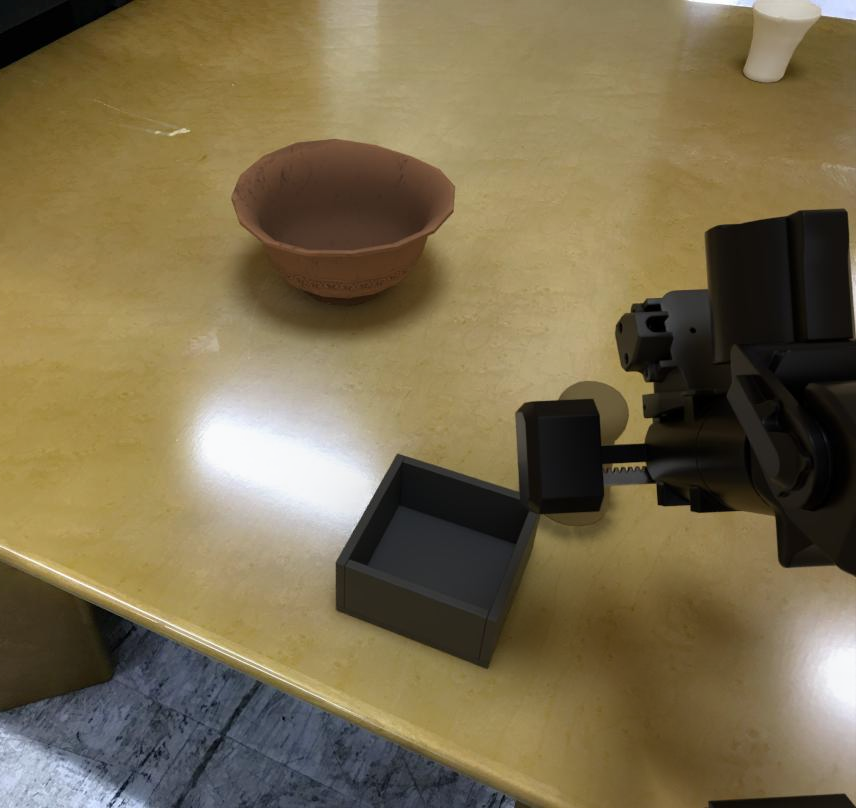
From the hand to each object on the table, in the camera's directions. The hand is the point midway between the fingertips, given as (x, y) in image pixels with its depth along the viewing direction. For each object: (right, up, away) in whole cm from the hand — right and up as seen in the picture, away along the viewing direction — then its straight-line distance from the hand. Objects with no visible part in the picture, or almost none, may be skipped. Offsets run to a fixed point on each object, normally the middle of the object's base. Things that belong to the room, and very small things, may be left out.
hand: (633, 448), depth 58 cm
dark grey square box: (-12, -10, +9) cm, 18 cm away
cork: (0, -5, +14) cm, 15 cm away
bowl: (-18, +16, +37) cm, 44 cm away
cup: (+45, +51, +73) cm, 99 cm away
